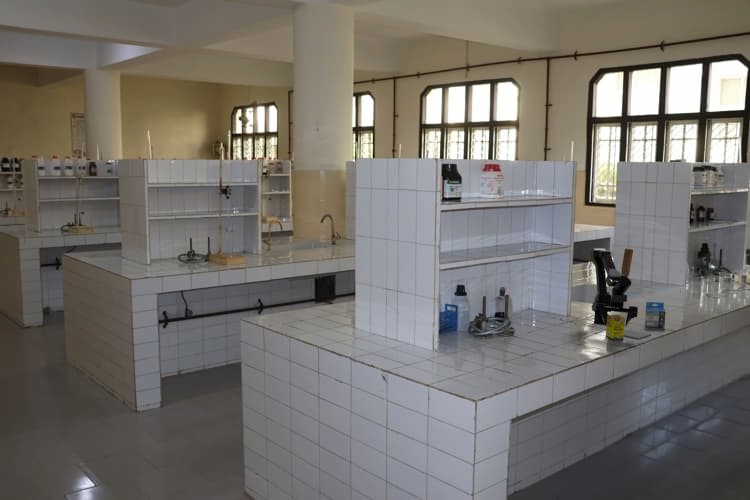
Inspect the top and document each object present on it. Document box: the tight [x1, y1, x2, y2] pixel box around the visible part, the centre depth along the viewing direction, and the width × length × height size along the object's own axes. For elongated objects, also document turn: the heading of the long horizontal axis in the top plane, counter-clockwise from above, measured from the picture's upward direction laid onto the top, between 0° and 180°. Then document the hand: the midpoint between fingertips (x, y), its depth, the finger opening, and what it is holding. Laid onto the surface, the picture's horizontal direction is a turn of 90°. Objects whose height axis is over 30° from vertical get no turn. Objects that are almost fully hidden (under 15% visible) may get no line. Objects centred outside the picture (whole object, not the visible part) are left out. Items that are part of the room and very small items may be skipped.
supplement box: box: [605, 314, 626, 341], centre depth 317 cm, size 6×6×11 cm
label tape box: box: [644, 301, 666, 328], centre depth 342 cm, size 9×4×12 cm, turn 82°
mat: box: [624, 328, 652, 340], centre depth 325 cm, size 12×12×1 cm
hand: (615, 324), depth 316 cm, fingers open, 9 cm apart
